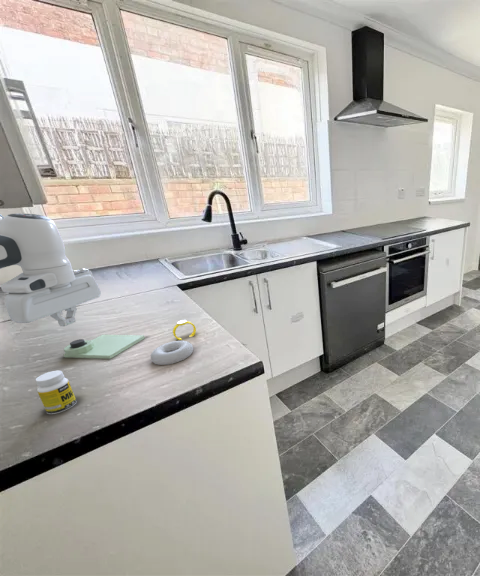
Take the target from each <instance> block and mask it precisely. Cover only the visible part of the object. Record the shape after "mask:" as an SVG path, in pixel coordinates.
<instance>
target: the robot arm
mask: <svg viewBox="0 0 480 576" xmlns="http://www.w3.org/2000/svg"><path fill="white" fill-rule="evenodd" d="M11 266H19V267H20V268H21V270H22V272H21V273H20V274H18V275H16V276H14V277H12V278H11V279H9V280H7V281H6V282H4V283H2V284H1V285H0V289H1V291H2V292H3V293H7V294H6V295H5V296H4V305H5V308H6V309H5V310H6V312H7V314H8V317H9V319H10V320H11V321H12V322H14V323H16V324H29V323H33V322H34V321H37V320H41V319H44V318H46V317H51V318H52V319H54V320H55V321H57V323H58V326H60V327H67V326H69V325H72V324H73V323H76V321H77V320H76V317H75V316H76V314H77V306H79V305H82V304H84V303H87V302H90V301H92V300H95V299H98V298H100V297H101V294H102V292H101V289H100V287H99V284H98V282H97V280H96V279H95V277H94V274H93V272H92V270H90V269H87V268H85V267H84V268H79V269H75V270H74V269H73V266H72V262H71V261H70V259H69V258H68V257H67V254H66V245H65V241H64V239H63V237H62V234H61V233H60V231H59V228H58V226H57V225H56V223H55V222H54V220H52V219H51V218H50V217H48V216H46V215H41V214H35V213H34V214H33V213H10V214H7V215H5V216H3V215H2V214H1V213H0V270H1V269H2V270H3V269H5V268H8V267H11ZM63 311H66V315H65V316H62V315H63V314H64V313H63Z"/></svg>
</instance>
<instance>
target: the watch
mask: <svg viewBox="0 0 480 576" xmlns="http://www.w3.org/2000/svg"><path fill="white" fill-rule="evenodd" d="M187 324H189V325H191V326H192V327H193V329H192V330H193V331H192V333H191V334H190V335H189V338H191V337H194V336H195V335H196V332H197V327H196V326H195V324H194V323H192V321H187V319H181V320H178V321H177V322H176V324H175V325H174V327H173V329H172V335H173V336H174V338H175V339H177V341H183V339H182V338H181V337H178V336H177V335H176V331H177V329H178V327H181V326H185V325H187Z"/></svg>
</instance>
